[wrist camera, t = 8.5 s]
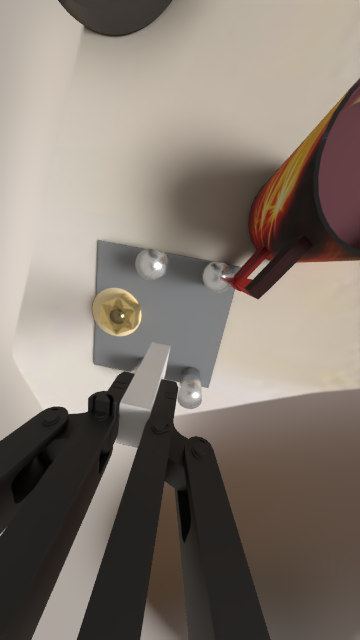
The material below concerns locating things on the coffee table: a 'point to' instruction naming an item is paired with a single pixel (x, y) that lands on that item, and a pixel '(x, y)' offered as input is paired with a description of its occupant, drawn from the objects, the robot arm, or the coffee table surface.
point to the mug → (309, 202)
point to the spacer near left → (152, 264)
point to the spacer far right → (190, 388)
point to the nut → (120, 314)
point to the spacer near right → (217, 277)
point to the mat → (160, 313)
